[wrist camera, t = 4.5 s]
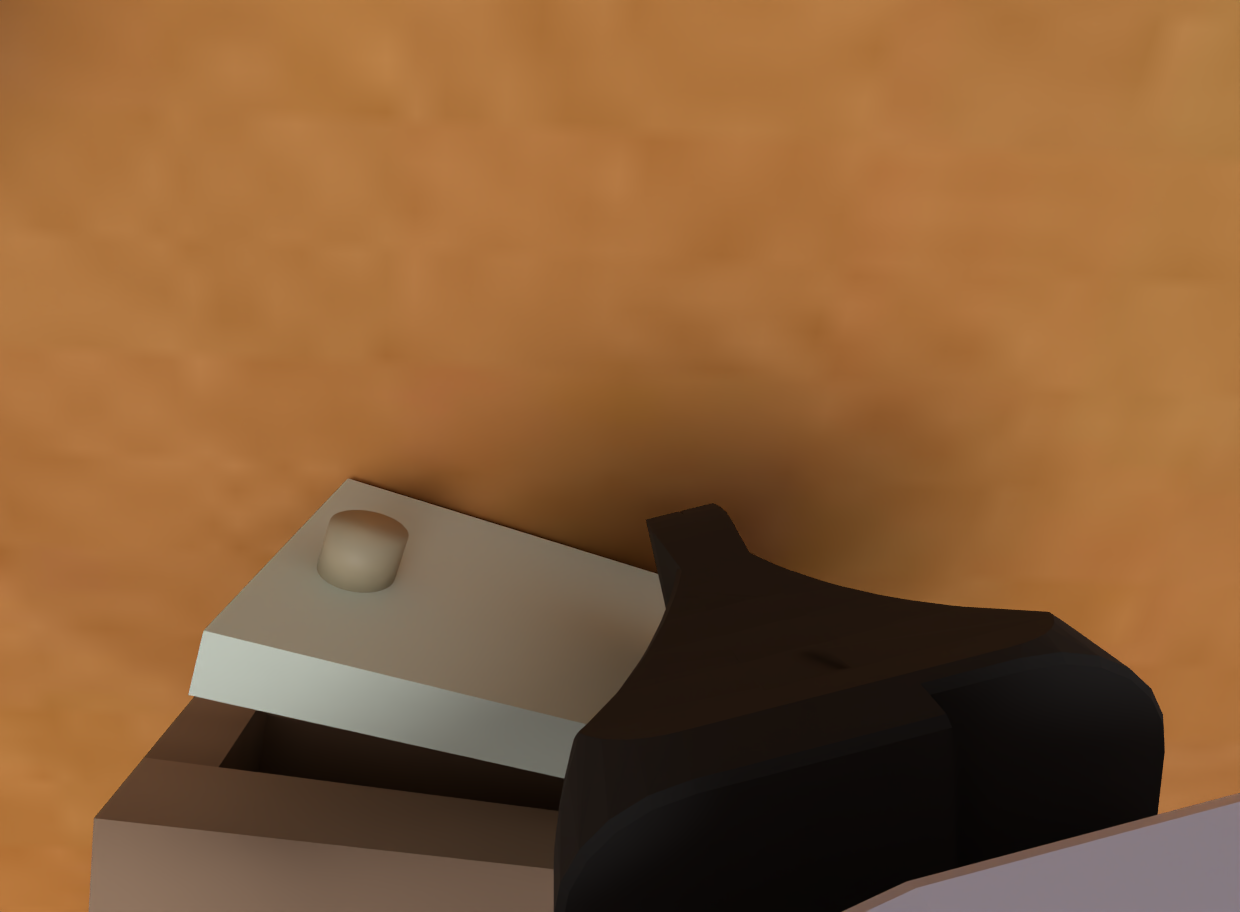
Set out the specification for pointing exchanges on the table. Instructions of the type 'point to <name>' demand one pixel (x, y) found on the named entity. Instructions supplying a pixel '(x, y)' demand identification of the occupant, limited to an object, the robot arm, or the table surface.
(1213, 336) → the table surface
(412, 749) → the walnut cabinet
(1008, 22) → the table surface
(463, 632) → the cabinet door
